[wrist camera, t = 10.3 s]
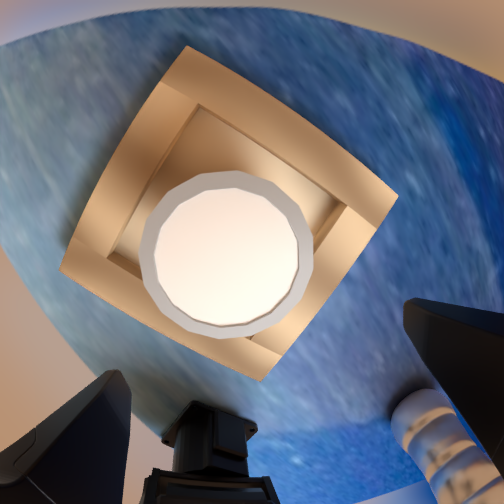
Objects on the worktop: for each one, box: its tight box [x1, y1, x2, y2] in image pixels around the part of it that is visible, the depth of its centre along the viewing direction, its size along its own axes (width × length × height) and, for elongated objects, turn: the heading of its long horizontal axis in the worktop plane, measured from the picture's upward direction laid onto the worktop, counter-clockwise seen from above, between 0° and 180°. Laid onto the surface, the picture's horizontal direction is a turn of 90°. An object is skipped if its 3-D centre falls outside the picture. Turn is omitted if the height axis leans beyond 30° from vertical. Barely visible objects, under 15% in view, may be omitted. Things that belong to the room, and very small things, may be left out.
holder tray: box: [59, 46, 398, 382], centre depth 18 cm, size 15×15×2 cm
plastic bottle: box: [391, 389, 504, 504], centre depth 17 cm, size 6×7×20 cm
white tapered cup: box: [138, 170, 313, 339], centre depth 15 cm, size 7×7×7 cm
